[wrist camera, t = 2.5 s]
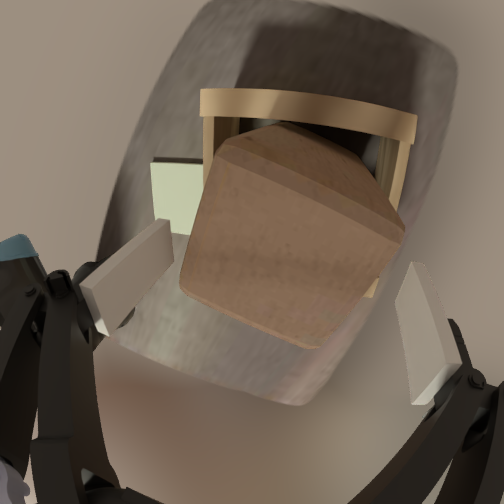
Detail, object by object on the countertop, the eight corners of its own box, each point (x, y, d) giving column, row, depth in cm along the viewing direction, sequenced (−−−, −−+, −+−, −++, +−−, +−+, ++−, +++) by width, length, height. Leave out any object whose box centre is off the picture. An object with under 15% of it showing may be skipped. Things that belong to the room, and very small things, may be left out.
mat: (158, 227, 39) (156, 229, 39) (152, 161, 34) (150, 162, 33) (221, 237, 37) (219, 239, 37) (221, 165, 32) (220, 166, 32)
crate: (228, 232, 37) (202, 267, 29) (232, 92, 27) (200, 89, 20) (363, 255, 33) (371, 297, 26) (392, 113, 24) (417, 115, 17)
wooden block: (281, 118, 28) (214, 133, 11) (362, 156, 28) (418, 233, 11) (250, 193, 33) (170, 294, 16) (324, 228, 33) (316, 359, 16)
